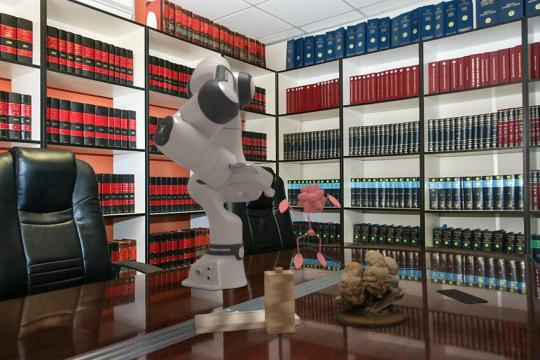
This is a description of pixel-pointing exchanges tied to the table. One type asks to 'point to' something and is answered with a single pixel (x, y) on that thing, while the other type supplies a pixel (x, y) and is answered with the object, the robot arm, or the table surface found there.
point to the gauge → (279, 301)
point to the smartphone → (462, 296)
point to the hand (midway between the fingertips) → (259, 195)
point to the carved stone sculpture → (370, 293)
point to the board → (232, 321)
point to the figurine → (311, 202)
